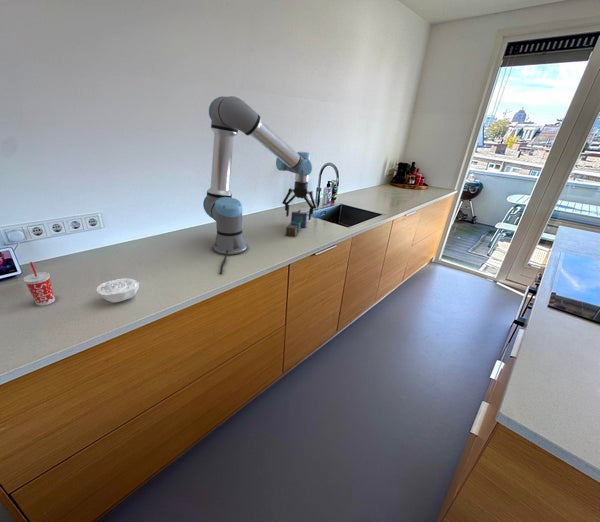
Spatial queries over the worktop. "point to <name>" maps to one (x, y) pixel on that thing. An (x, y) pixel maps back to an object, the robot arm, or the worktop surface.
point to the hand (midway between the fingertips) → (298, 217)
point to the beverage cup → (40, 287)
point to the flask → (299, 217)
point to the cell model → (118, 289)
